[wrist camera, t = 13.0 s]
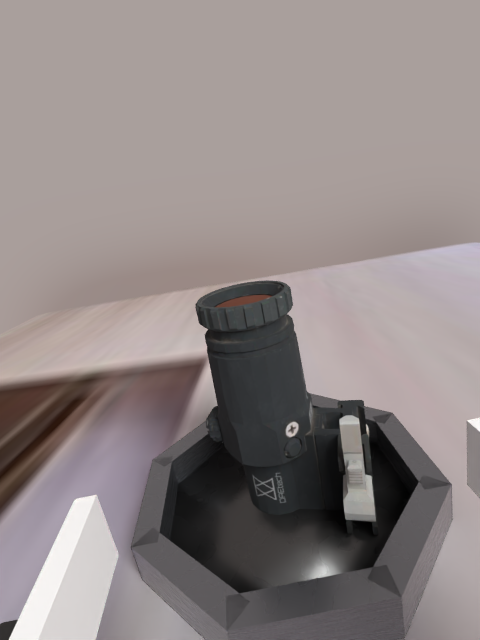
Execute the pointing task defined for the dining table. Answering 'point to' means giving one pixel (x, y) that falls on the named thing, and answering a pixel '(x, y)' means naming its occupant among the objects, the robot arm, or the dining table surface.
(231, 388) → the scope
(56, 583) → the robot arm
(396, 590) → the dark grey octagonal bowl
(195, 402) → the dining table surface
